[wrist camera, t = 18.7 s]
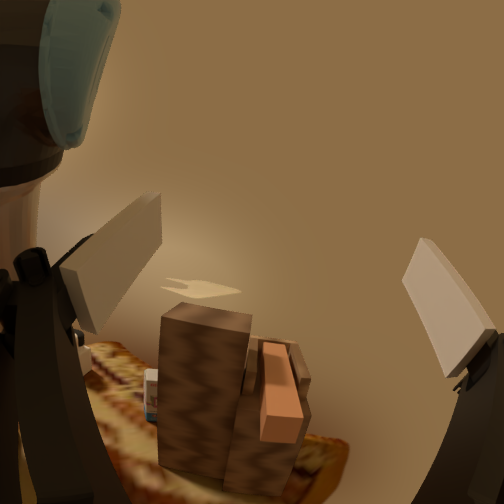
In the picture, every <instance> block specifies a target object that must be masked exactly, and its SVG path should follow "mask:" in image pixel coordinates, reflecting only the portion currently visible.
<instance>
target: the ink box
mask: <svg viewBox="0 0 504 504" xmlns="http://www.w3.org/2000/svg"><path fill="white" fill-rule="evenodd" d="M157 383H158V369H157V370H156V369H147V370H144V412H145V417H146V420H147V421H157Z"/></svg>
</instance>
